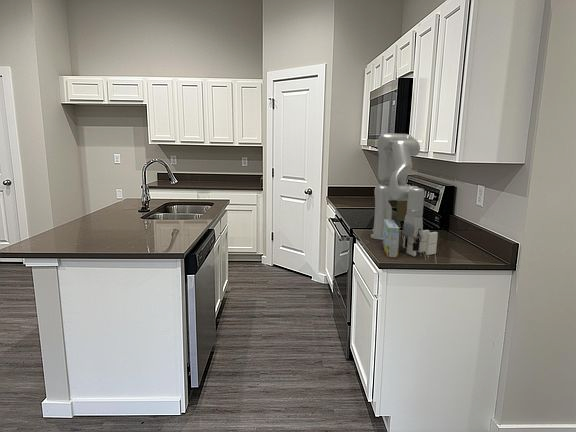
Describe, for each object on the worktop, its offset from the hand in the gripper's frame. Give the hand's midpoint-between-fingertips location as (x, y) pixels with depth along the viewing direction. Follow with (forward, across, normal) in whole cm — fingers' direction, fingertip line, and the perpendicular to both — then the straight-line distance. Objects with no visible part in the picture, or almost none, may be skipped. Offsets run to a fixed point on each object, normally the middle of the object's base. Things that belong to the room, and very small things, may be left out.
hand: (411, 248), depth 200 cm
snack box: (+4, -7, -8) cm, 11 cm away
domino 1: (+3, -14, +8) cm, 16 cm away
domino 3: (+3, -4, +10) cm, 11 cm away
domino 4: (+3, +1, +11) cm, 11 cm away
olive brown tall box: (+4, -83, +51) cm, 97 cm away
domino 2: (+3, 0, 0) cm, 3 cm away
